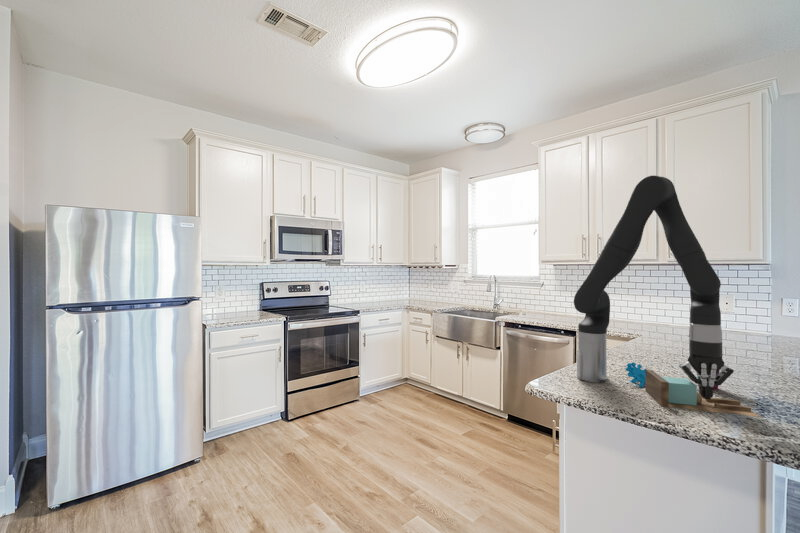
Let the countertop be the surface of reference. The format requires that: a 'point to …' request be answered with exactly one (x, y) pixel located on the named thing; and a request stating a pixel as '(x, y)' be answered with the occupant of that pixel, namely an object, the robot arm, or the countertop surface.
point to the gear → (636, 373)
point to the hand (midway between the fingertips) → (706, 398)
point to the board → (660, 394)
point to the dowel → (699, 398)
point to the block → (682, 391)
